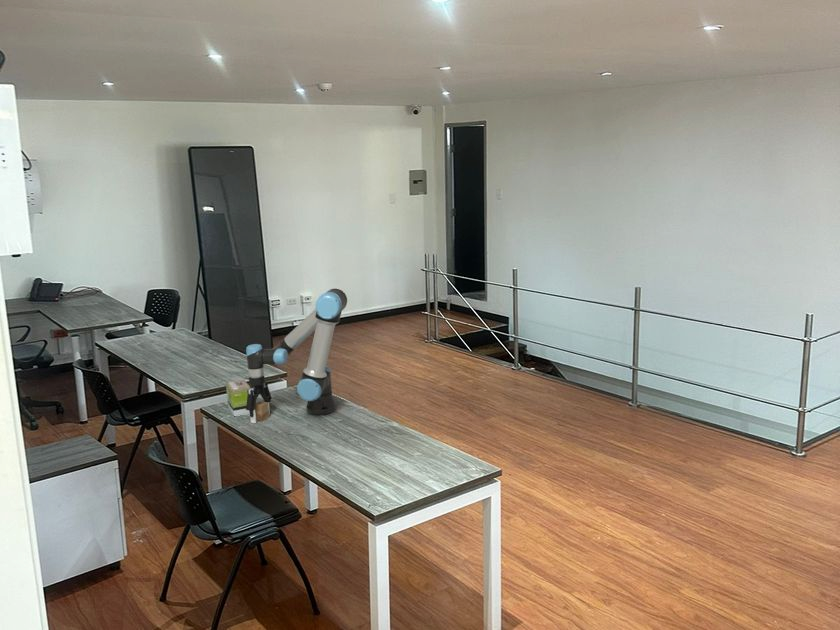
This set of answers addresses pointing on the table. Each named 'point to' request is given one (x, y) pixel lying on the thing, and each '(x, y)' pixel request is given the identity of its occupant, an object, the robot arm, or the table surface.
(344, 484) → the table surface
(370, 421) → the table surface
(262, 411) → the walnut block
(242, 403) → the tea box
